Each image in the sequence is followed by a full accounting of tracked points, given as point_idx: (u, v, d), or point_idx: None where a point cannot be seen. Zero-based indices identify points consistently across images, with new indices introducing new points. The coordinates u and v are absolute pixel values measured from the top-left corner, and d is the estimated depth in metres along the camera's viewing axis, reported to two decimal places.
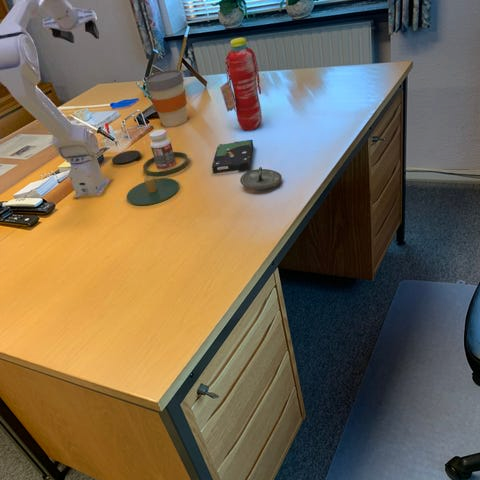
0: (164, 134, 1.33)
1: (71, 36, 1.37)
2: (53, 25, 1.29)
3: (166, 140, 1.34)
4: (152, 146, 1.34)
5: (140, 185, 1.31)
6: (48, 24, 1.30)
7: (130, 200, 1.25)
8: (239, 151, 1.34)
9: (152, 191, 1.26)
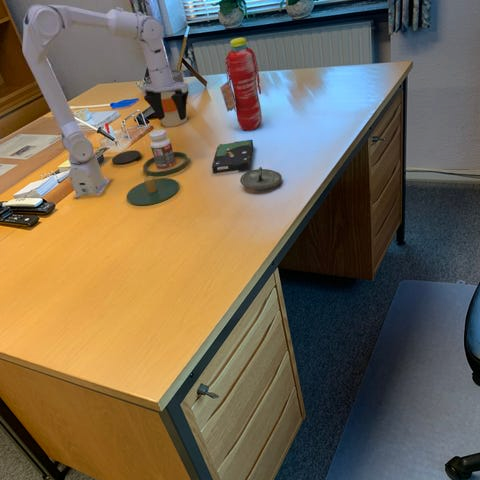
0: (164, 134, 1.33)
1: (161, 113, 1.39)
2: None
3: (166, 140, 1.34)
4: (152, 146, 1.34)
5: (140, 185, 1.31)
6: None
7: (130, 200, 1.25)
8: (239, 151, 1.34)
9: (152, 191, 1.26)
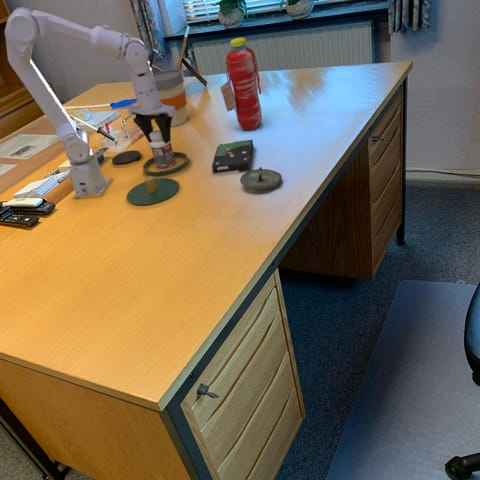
0: None
1: None
2: (135, 109, 1.30)
3: None
4: (152, 146, 1.34)
5: (140, 185, 1.31)
6: (132, 109, 1.32)
7: (130, 200, 1.25)
8: (239, 151, 1.34)
9: (152, 191, 1.26)
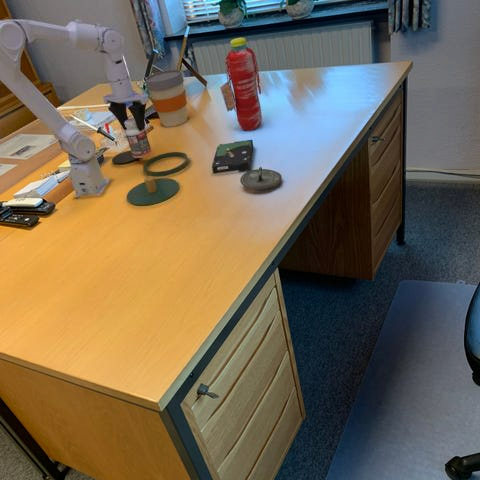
0: None
1: None
2: (110, 98, 1.34)
3: None
4: (127, 134, 1.37)
5: (140, 185, 1.31)
6: None
7: (130, 200, 1.25)
8: (239, 151, 1.34)
9: (152, 191, 1.26)
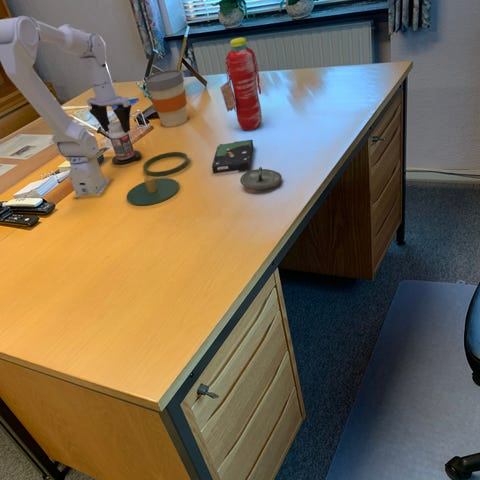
0: None
1: (107, 126, 1.44)
2: (93, 101, 1.39)
3: (123, 131, 1.43)
4: (110, 137, 1.43)
5: (140, 185, 1.31)
6: None
7: (130, 200, 1.25)
8: (239, 151, 1.34)
9: (152, 191, 1.26)
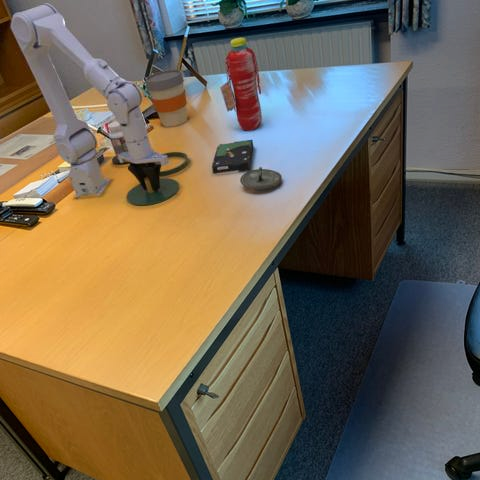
0: None
1: None
2: None
3: None
4: (110, 137, 1.43)
5: (140, 185, 1.31)
6: (123, 156, 1.24)
7: (130, 200, 1.25)
8: (239, 151, 1.34)
9: (152, 191, 1.26)
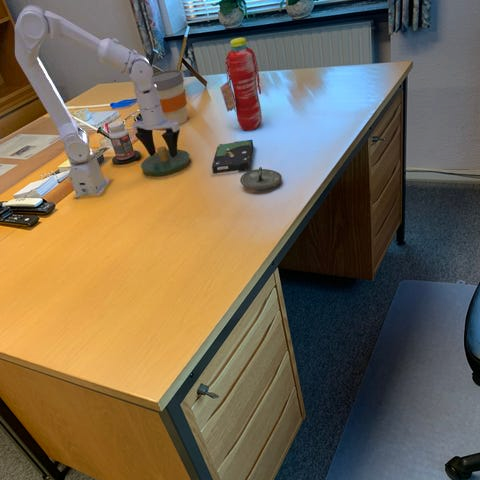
0: (121, 125, 1.41)
1: (152, 150, 1.38)
2: (140, 124, 1.33)
3: (123, 131, 1.43)
4: (110, 137, 1.43)
5: (153, 156, 1.42)
6: (137, 124, 1.34)
7: (144, 168, 1.36)
8: (239, 151, 1.34)
9: (164, 160, 1.37)
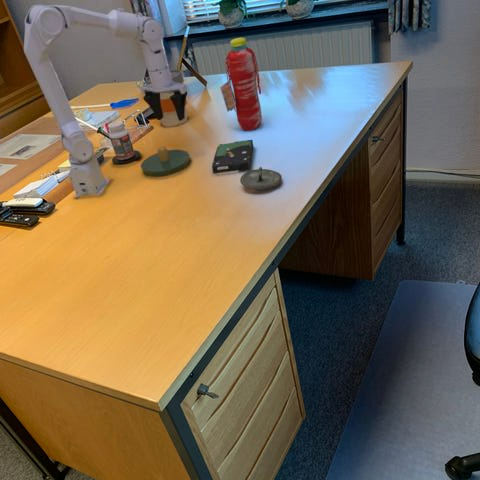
0: (121, 125, 1.41)
1: (160, 114, 1.40)
2: (148, 87, 1.35)
3: (123, 131, 1.43)
4: (110, 137, 1.43)
5: (153, 156, 1.42)
6: None
7: (144, 168, 1.36)
8: (239, 151, 1.34)
9: (164, 160, 1.37)
